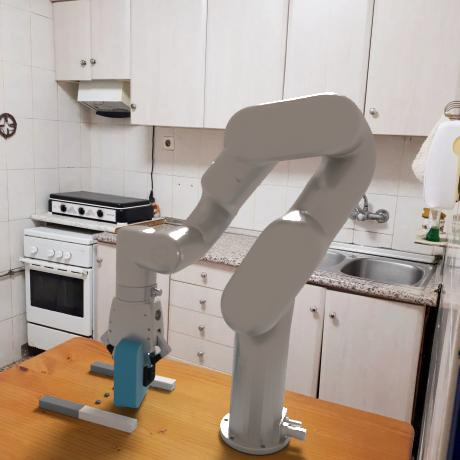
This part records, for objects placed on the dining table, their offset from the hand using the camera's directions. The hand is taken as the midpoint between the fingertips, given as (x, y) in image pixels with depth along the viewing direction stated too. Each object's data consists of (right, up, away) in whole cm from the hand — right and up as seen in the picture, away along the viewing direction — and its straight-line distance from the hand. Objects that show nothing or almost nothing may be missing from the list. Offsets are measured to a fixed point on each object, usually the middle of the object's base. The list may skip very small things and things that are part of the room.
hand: (134, 379), depth 90 cm
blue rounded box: (0, -3, +1) cm, 3 cm away
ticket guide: (-5, -4, +2) cm, 7 cm away
